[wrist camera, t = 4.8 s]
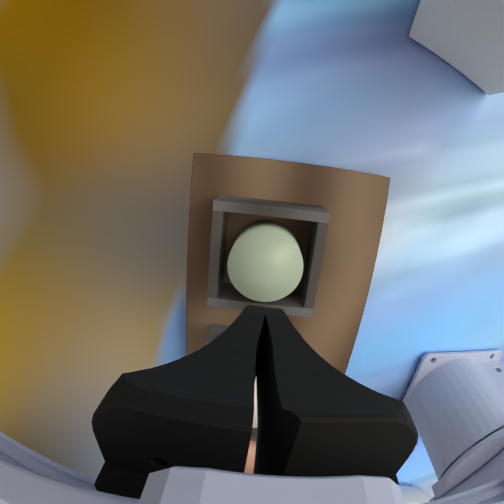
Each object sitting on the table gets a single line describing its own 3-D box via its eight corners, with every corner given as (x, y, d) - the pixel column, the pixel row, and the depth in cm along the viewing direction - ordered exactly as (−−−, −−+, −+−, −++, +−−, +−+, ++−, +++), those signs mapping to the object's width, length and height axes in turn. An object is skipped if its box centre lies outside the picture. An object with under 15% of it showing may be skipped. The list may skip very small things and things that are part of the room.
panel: (383, 176, 17) (405, 180, 14) (306, 460, 25) (308, 487, 22) (198, 153, 17) (182, 152, 14) (193, 449, 25) (186, 476, 22)
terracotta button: (267, 429, 21) (266, 453, 19) (261, 453, 22) (260, 476, 20) (220, 424, 21) (216, 447, 19) (219, 449, 22) (215, 471, 20)
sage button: (303, 223, 17) (308, 234, 14) (293, 285, 18) (297, 305, 15) (236, 216, 17) (230, 225, 14) (230, 278, 18) (224, 297, 15)
